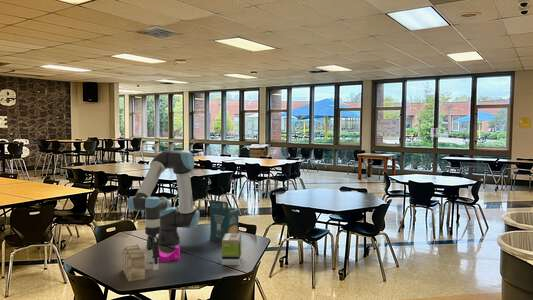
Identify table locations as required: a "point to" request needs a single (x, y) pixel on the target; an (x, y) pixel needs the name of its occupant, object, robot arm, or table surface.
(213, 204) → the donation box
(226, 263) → the tea box
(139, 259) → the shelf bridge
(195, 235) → the table surface
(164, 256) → the toy block
